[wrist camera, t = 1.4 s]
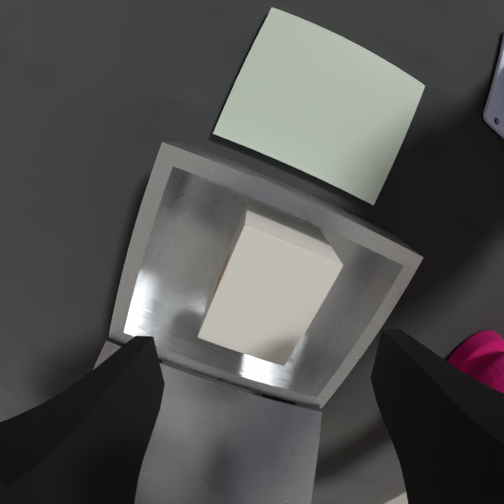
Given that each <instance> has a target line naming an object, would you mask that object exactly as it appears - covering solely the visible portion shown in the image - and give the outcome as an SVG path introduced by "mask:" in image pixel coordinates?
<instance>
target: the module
mask: <svg viewBox="0 0 504 504" xmlns="http://www.w3.org/2000/svg"><path fill="white" fill-rule="evenodd" d="M342 267H343V264H342V262H341V261H340V259H339V258H338V256H337V255H336V253H335V252H334V250H333V248H332V247H331V245H330V244H329V242H328V241H327V239H326V238H325V236H324V235H323V233H322V232H320V231H317V230H315V229H313V228H311V227H308V226H306V225H304V224H301V223H299V222H297V221H295V220H292V219H290V218H288V217H285V216H283V215H280V214H278V213H276V212H273V211H271V210H269V209H266V208H264V207H261V206H259V205H257V204H254V203H252V202H249V201H248V202H247V204H246V207H245V209H244V212H243V214H242V216H241V219H240V221H239V223H238V226H237V228H236V230H235V233H234V235H233V238H232V240H231V242H230V245H229V247H228V249H227V252H226V254H225V257H224V259H223V261H222V264H221V266H220V269H219V271H218V274H217V276H216V278H215V281H214V283H213V286H212V288H211V291H210V294H209V297H208V301H207V305H206V308H205V312H204V315H203V319H202V322H201V326H200V330H199V333H198V338H201V339H204V340H206V341H209V342H212V343H215V344H217V345H220V346H223V347H226V348H229V349H232V350H235V351H238V352H241V353H244V354H247V355H250V356H253V357H256V358H259V359H262V360H265V361H268V362H271V363H275V364H278V365H281V366H285V364H286V363H287V361H288V359H289V358H290V356H291V355H292V353H293V351H294V350H295V348H296V347H297V345H298V343H299V342H300V340H301V338H302V337H303V335H304V333H305V332H306V330H307V328H308V327H309V325H310V323H311V322H312V320H313V318H314V317H315V315H316V313H317V312H318V310H319V308H320V306H321V305H322V303H323V301H324V299H325V298H326V296H327V294H328V292H329V291H330V289H331V287H332V285H333V283H334V282H335V280H336V278H337V276H338V274H339V273H340V271H341V269H342Z"/></svg>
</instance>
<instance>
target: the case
mask: <svg viewBox="0 0 504 504" xmlns="http://www.w3.org/2000/svg"><path fill="white" fill-rule="evenodd" d="M248 201H249V202H252V203H254V204H257V205H259V206H261V207H264V208H266V209H269V210H271V211H273V212H276V213H278V214H280V215H283V216H285V217H288V218H290V219H292V220H295V221H297V222H299V223H301V224H304V225H306V226H308V227H311V228H313V229H315V230H317V231H320V232H322V233H323V235H324V236H325V238H326V239H327V241H328V242H329V244H330V245H331V247H332V248H333V250H334V252H335V253H336V255H337V256H338V258H339V259H340V261H341V262H342V264H343V267H342V269H341V271H340V273H339V274H338V276H337V278H336V280H335V282H334V283H333V285H332V287H331V289H330V291H329V292H328V294H327V296H326V298H325V299H324V301H323V303H322V305H321V306H320V308H319V310H318V312H317V313H316V315H315V317H314V318H313V320H312V322H311V323H310V325H309V327H308V328H307V330H306V332H305V333H304V335H303V337H302V338H301V340H300V342H299V343H298V345H297V347H296V348H295V350H294V351H293V353H292V355H291V356H290V358H289V359H288V361H287V363H286V364H285V366H281V365H278V364H275V363H271V362H268V361H265V360H262V359H259V358H256V357H253V356H250V355H247V354H244V353H241V352H238V351H235V350H232V349H229V348H226V347H223V346H220V345H217V344H215V343H212V342H209V341H206V340H204V339H201V338H198V333H199V330H200V326H201V322H202V319H203V315H204V312H205V308H206V305H207V301H208V297H209V294H210V291H211V288H212V286H213V283H214V281H215V278H216V276H217V274H218V271H219V269H220V266H221V264H222V261H223V259H224V257H225V254H226V252H227V249H228V247H229V245H230V242H231V240H232V238H233V235H234V233H235V230H236V228H237V226H238V223H239V221H240V219H241V216H242V214H243V212H244V209H245V207H246V204H247V202H248ZM422 259H423V257H422V256H421V255H420V254H419V253H418V252H416V251H415V250H414V249H413V248H411V247H410V246H409V245H408V244H406V243H405V242H404V241H403V240H401V239H400V238H399V237H397V236H395V235H393V234H391V233H389V232H387V231H385V230H384V229H382V228H380V227H378V226H376V225H374V224H372V223H370V222H368V221H366V220H364V219H362V218H360V217H358V216H355V215H353V214H351V213H349V212H347V211H345V210H343V209H341V208H339V207H337V206H335V205H333V204H330V203H328V202H326V201H324V200H322V199H320V198H317V197H315V196H313V195H311V194H309V193H307V192H304V191H302V190H300V189H298V188H295V187H293V186H291V185H289V184H286V183H284V182H282V181H279V180H277V179H275V178H272V177H270V176H268V175H265V174H263V173H261V172H258V171H256V170H253V169H251V168H248V167H246V166H244V165H241V164H239V163H236V162H234V161H231V160H229V159H226V158H224V157H221V156H218V155H216V154H213V153H211V152H208V151H206V150H203V149H200V148H198V147H195V146H192V145H190V144H187V143H184V142H181V141H172V142H162V144H161V147H160V150H159V153H158V155H157V158H156V161H155V164H154V167H153V170H152V172H151V175H150V178H149V181H148V184H147V187H146V191H145V194H144V197H143V200H142V203H141V206H140V210H139V213H138V216H137V220H136V223H135V227H134V230H133V234H132V237H131V241H130V245H129V248H128V252H127V256H126V260H125V264H124V268H123V272H122V276H121V280H120V284H119V288H118V293H117V297H116V302H115V307H114V311H113V316H112V321H111V326H110V331H109V338H111V339H114V340H116V341H118V342H120V343H123V344H126V343H127V342H128V341H129V340H131V339H132V338H133V337H135V336H153V337H154V342H155V346H156V350H157V354H158V359H159V363H161V364H164V365H166V366H169V367H172V368H174V369H177V370H180V371H182V372H185V373H188V374H191V375H193V376H196V377H199V378H202V379H205V380H208V381H211V382H214V383H217V384H220V385H223V386H226V387H229V388H233V389H236V390H239V391H243V392H246V393H249V394H253V395H256V396H260V397H263V398H267V399H271V400H274V401H278V402H282V403H286V404H290V405H294V406H296V405H295V402H296V403H300V404H304V405H309V406H313V407H317V408H322V407H323V406H324V405H325V403H326V402H327V401H328V400H329V399H330V397H331V396H332V395H333V394H334V392H335V391H336V390H337V388H338V387H339V386H340V385H341V383H342V382H343V381H344V379H345V378H346V377H347V375H348V374H349V373H350V371H351V370H352V369H353V367H354V366H355V365H356V363H357V362H358V360H359V359H360V358H361V356H362V355H363V353H364V352H365V351H366V349H367V348H368V346H369V345H370V343H371V342H372V341H373V339H374V338H375V336H376V335H377V333H378V332H379V330H380V329H381V327H382V326H383V324H384V323H385V321H386V320H387V318H388V316H389V315H390V313H391V312H392V310H393V309H394V307H395V305H396V304H397V302H398V301H399V299H400V297H401V296H402V294H403V292H404V291H405V289H406V287H407V286H408V284H409V282H410V280H411V279H412V277H413V275H414V273H415V272H416V270H417V268H418V266H419V265H420V263H421V261H422Z"/></svg>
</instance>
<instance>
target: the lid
mask: <svg viewBox="0 0 504 504" xmlns="http://www.w3.org/2000/svg"><path fill="white" fill-rule="evenodd" d="M119 348H121V347H120V346H118V345H116V344H114V343H111V342H109V341H107V340H106V342H105V344H104V346H103V349H102V351H101V353H100V355H99V357H98V359H97V362H96V364H95V366H94V368H93V370H94V369H95V368H96V367H97V366H99V365H100V364H101V363H102V362H104V361H105V360H106V359H107V358H108V357H110V356H111V355H112V354H113V353H115V352H116V351H117V350H118V349H119ZM160 367H161V371H162V375H163V378H164V382H165V386H164V391H163V397H162V402H161V407H160V411H159V414H158V417H157V420H156V423H155V426H154V429H153V432H152V435H151V438H150V441H149V444H148V447H147V450H146V453H145V456H144V459H143V462H142V466H141V470H140V474H139V479H138V485H137V490H136V496H135V503H134V504H311V498H312V491H313V485H314V478H315V470H316V463H317V455H318V447H319V438H320V429H321V419H322V412H320V411H316V410H311V409H307V408H302V407H298V406H294V405H290V404H286V403H282V402H278V401H274V400H271V399H267V398H263V397H260V396H256V395H253V394H249V393H246V392H243V391H239V390H236V389H233V388H229V387H226V386H223V385H220V384H217V383H214V382H211V381H208V380H205V379H202V378H199V377H196V376H193V375H191V374H188V373H185V372H182V371H180V370H177V369H174V368H172V367H169V366H166V365H164V364H161V363H160Z"/></svg>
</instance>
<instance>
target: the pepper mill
mask: <svg viewBox="0 0 504 504" xmlns="http://www.w3.org/2000/svg"><path fill="white" fill-rule="evenodd" d="M447 362H448V363H450V364H451V365H453V366H454V367H456V368H457V369H459V370H461V371H462V372H464V373H466V374H467V375H469V376H470V377H472V378H474V379H476V380H478V381H479V382H481V383H483V384H485V385H487V386H489V387H491V388H493V389H495V390H497V391H500V392H502V393H504V340H503V339H502V338H501V337H500V336H499V335H498V334H497V333H496V332H494V331H490V330H486V331H481V332H479V333H476V334H474V335H473V336H471V337H469V338H468V339H466V340H465V341H464V342H463V343H462V344H461V345H460V346H459V347H458V348H457V349H456V350H455V351H454V352H453V353H452V355H451V356H450V358H449V359H448V361H447Z"/></svg>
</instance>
